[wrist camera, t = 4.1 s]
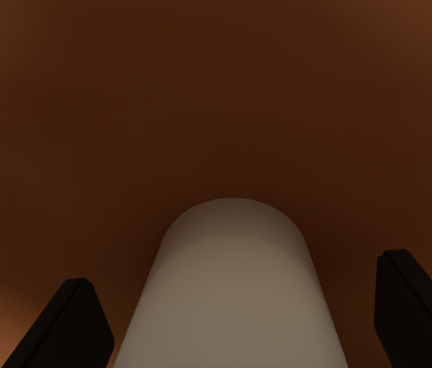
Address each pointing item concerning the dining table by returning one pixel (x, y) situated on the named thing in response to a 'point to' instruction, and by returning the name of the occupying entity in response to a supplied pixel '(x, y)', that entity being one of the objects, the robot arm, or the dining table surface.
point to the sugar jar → (232, 295)
